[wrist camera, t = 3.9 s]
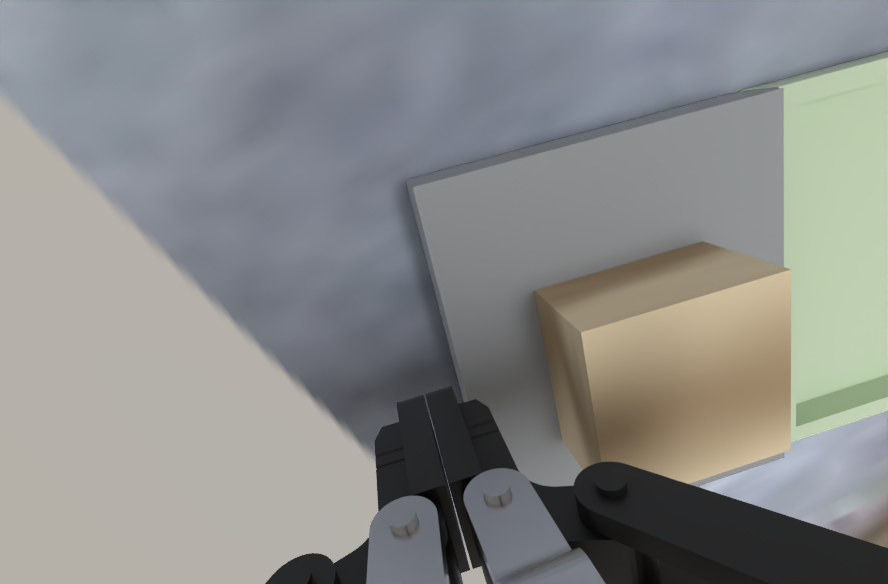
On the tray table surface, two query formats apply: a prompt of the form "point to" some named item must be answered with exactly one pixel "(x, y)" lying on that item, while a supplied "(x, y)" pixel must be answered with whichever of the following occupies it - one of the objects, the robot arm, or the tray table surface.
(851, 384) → the box
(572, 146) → the plate
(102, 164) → the tray table surface
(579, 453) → the tan square block
